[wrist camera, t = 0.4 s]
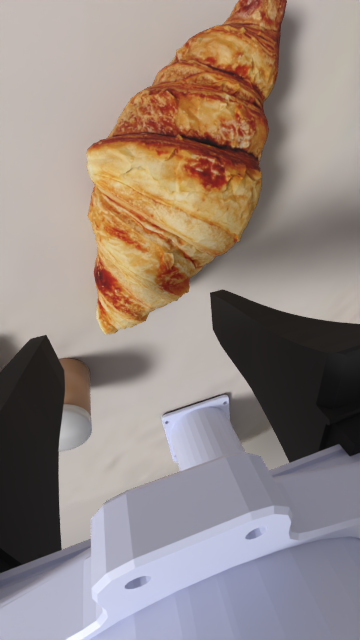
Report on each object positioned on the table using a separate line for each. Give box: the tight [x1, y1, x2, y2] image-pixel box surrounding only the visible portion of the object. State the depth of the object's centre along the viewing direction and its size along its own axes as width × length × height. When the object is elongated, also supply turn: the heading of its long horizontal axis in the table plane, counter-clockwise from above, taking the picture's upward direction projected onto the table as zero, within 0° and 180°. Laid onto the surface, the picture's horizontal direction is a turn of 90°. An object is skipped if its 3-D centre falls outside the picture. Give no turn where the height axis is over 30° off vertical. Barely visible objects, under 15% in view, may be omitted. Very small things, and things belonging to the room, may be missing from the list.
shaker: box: [59, 358, 92, 452], centre depth 22 cm, size 4×4×6 cm
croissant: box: [86, 0, 287, 334], centre depth 17 cm, size 21×10×8 cm, turn 151°
